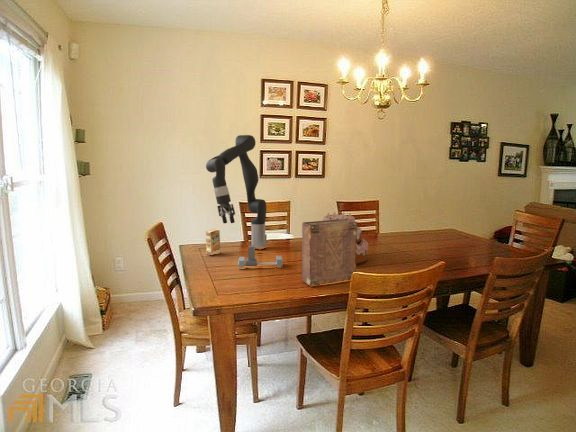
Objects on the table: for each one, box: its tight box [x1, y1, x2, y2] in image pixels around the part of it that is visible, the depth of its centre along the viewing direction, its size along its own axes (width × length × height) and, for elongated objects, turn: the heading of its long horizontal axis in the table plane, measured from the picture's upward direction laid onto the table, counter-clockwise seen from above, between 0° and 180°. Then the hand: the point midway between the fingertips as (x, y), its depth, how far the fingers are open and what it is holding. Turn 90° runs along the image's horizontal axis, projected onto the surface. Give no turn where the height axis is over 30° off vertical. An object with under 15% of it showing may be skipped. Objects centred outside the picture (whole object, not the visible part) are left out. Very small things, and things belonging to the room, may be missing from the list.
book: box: [301, 219, 358, 286], centre depth 181 cm, size 25×9×30 cm, turn 114°
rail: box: [237, 255, 284, 268], centre depth 206 cm, size 25×8×5 cm, turn 96°
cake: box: [322, 211, 369, 266], centre depth 221 cm, size 35×35×28 cm
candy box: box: [205, 228, 221, 252], centre depth 231 cm, size 9×4×15 cm, turn 150°
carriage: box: [245, 245, 258, 266], centre depth 205 cm, size 6×6×11 cm
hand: (229, 223), depth 206 cm, fingers open, 8 cm apart
